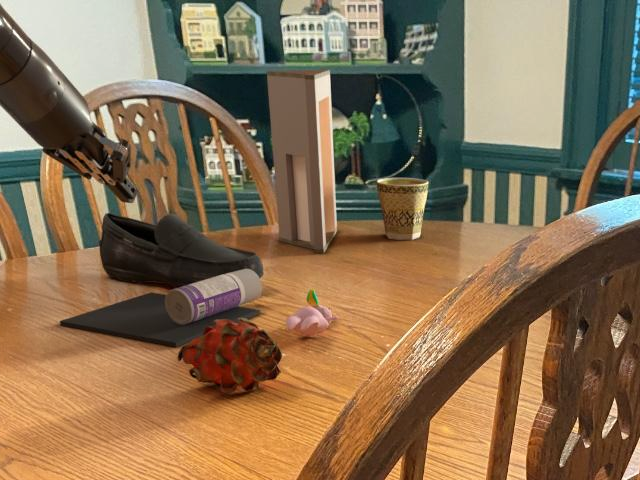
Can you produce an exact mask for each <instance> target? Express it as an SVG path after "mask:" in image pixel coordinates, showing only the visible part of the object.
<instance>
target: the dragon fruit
mask: <svg viewBox="0 0 640 480" xmlns="http://www.w3.org/2000/svg"><path fill="white" fill-rule="evenodd" d="M237 320H239V322H238V323H234V322H233V321H231V320H229V319H220V320H217V319H216V320H214V321H213V323H214V324H215V325H216V326H212V327H210V326H209V327H206V328H205V330H204V333H203V334H202V336H201V337H199V338H196V339H193V340H192V341H191V342H188V343H186V344H183V345H182V347H181V348H180V350H179V351H178V353H177V357H176V359H177V362H181V361H183V363H184V364H186V365H192V367H191V368H190V369H188V374H189V375H190V376H191V378H193V379H195V380H196V381H197V382H198V383H202V384H203V383H204V384H205V383H208V384H214V385H216V386H217V388H220V390H221V392H222V393H223V394H225V395H229V394H231V393H232V392H234V391H236V389H237V388H238V387H241V388H242V390H244V392H253V391H257V390H259V387H260V384H259V383H262V382H265V381H273V380H276V379H277V378H278V377H279V376H280V374H282V371H281V369H280V368H279V366H278V365H279V363H281V360H282V357H283V353H282V351H281V349H280V348H279V347H278V346H277V345H278V344H277V342H276V340H275V339H274V338H273V337H272V336H271V334H269V333H268V332H267V331H266V330H265V329H263V328H262V329H260V328H259V326H258V325H257V324H256V323H254V322H252V321H250V320H249V319H245V318H237ZM176 359H175V360H176Z"/></svg>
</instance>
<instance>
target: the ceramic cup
mask: <svg viewBox="0 0 640 480" xmlns="http://www.w3.org/2000/svg"><path fill="white" fill-rule="evenodd" d="M375 183H376V191H377V196H378V200H379V204H380V208H381V209H380V210H381V214H382V218H383V219H382V220H383V227H384V232H385V235H386V237H387V239H391V240H397V241H409V240H410V241H413V240H416V239H419V238H420V237H421V232H422V226H423V219H424V215H425V213H424V212H425V207H426V203H427V199H428V198H427V197H428V193H429V192H428V190H429V181H428V180H426V179H423V178H416V177H415V178H414V177H385V178H379V179H377V180H376V181H375Z"/></svg>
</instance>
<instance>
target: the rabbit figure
mask: <svg viewBox="0 0 640 480" xmlns="http://www.w3.org/2000/svg"><path fill="white" fill-rule="evenodd" d="M306 303H307V304H308V305H307V306H303V307H300V308H298V309H297V310H296V311H295V312H294V313H293V314H292V315H290V316H287V317H286V318H285V325H286V327H287V329H288V330H289V331H293V330H295V331H296V332H297V333H299V334H301V335H305V336H306V337H308V338H311V337H316V335H318V334H321V333H323V332H324V331H326V330H327V329H328V328H329V325H330V324H331V323H332V322H333V321H337V320H339V316H337V315H334V313H333V310H332V309H333V308H332V306H331V307H326V306H324V305H320V304H319V298H318V297H317V294H316V291H315V289H314V288H311V289H310V290H308V292H307V295H306Z"/></svg>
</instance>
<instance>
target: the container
mask: <svg viewBox="0 0 640 480" xmlns="http://www.w3.org/2000/svg"><path fill="white" fill-rule="evenodd" d="M262 293H263V283H262V281H261V278H259V276H258V275H257V274H256V273H255V272H254V271H253V270H251V269H243V270H239V271H235V272H231V273H227V274H223V275H219V276H216V277H213V278H209V279H206V280H202V281H199V282H196V283H192V284H189V285H186V286H182V287H179V288H176V287H175V288H172V289H170V290H169V291H167V292H166V294H165V295H166V297H165V307H166V310H167V313H168V314H169V316H170V318H171V319H172V320H173V321H174V322H176V323H177V324H179V325H186V324H189V323H192V322H195V321H198V320H201V319H204V318H207V317H210V316H212V315H215V314H218V313H221V312H224V311H227V310H230V309H233V308H236V307H242V306H243V305H246V304H248V303H251V302H254V301H257V300H258V299H259V298H260V297H261V295H262Z"/></svg>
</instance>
